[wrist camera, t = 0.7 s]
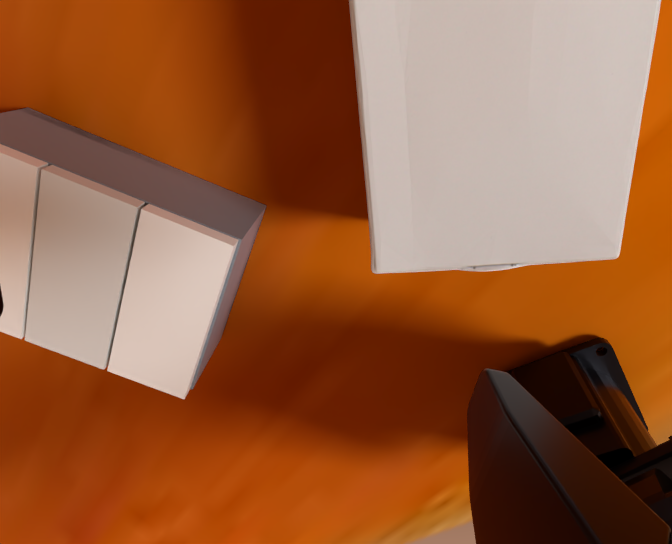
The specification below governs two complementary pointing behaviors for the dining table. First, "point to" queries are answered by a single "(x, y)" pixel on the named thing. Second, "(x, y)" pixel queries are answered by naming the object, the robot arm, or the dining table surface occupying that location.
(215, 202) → the gray open box
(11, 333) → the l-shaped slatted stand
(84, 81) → the dining table surface
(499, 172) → the skincare box
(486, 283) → the dining table surface
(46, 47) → the dining table surface
